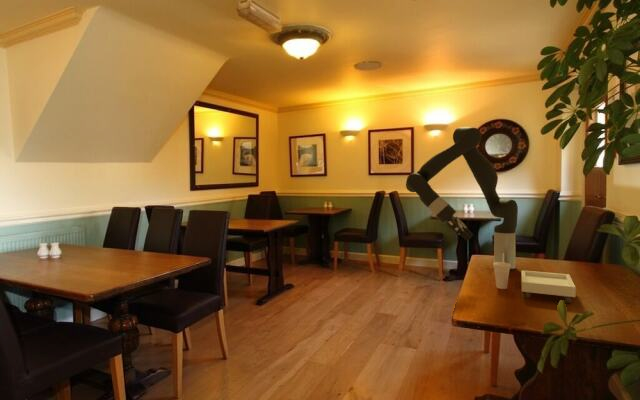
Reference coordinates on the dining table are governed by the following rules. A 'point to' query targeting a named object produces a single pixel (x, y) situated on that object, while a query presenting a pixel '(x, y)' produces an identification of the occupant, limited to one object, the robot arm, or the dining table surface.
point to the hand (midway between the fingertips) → (470, 238)
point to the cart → (548, 284)
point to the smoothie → (501, 273)
